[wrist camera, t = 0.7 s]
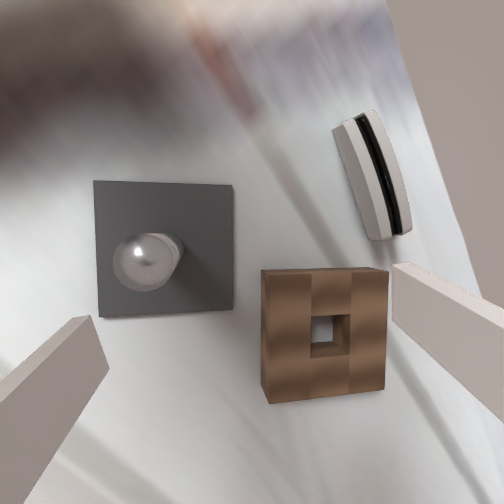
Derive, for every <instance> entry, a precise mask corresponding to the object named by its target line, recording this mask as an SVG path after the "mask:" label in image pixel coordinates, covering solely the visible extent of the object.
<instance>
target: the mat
mask: <svg viewBox="0 0 504 504" xmlns="http://www.w3.org/2000/svg"><path fill="white" fill-rule="evenodd" d="M93 187H94V211H95V236H96V260H97V284H98V309H99V317H110V316H128V315H146V314H165V313H183V312H201V311H219V310H233V292H232V185H211V184H183V183H154V182H125V181H96V180H93ZM152 233H172V234H174V235H176V236H178V237H179V238H180V239H181V241H182V242H183V245H184V254H183V256H182V258H181V260H180V261H179V263H178V265H177V266H176V268H175V270H174V271H173V273H172V275H171V276H170V278H169V279H168V281H167V282H166V283H165V284H164V285H162V286H161V287H159V288H157V289H155V290H152V291H146V292H140V291H135V290H132V289H129V288H128V287H126V286H124V285H123V284H122V283H121V282H120V281H119V280H118V278H117V277H116V275H115V273H114V270H113V264H112V263H113V255H114V252H115V250H116V248H117V247H118V245H119V244H120V243H121V242H122V241H124V240H125V239H126V238H128V237H130V236H133V235H137V234H152Z"/></svg>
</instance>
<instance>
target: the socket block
mask: <svg viewBox="0 0 504 504" xmlns="http://www.w3.org/2000/svg"><path fill="white" fill-rule="evenodd" d="M388 283H389V272H388V271H384V270H379V269H374V268H369V267H358V268H320V269H283V270H261V386H262V388H263V391H264V393H265V396H266V398H267V400H268V403H269V404H275V403H283V402H291V401H299V400H307V399H314V398H322V397H330V396H338V395H346V394H354V393H362V392H370V391H378V390H384V386H385V360H386V334H387V309H388ZM326 315H333V341H329V342H317V343H311V316H326Z"/></svg>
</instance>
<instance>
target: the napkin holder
mask: <svg viewBox="0 0 504 504" xmlns="http://www.w3.org/2000/svg"><path fill="white" fill-rule="evenodd" d="M332 132H333V135H334V138H335V141H336V144H337V147H338V150H339V153H340V156H341V159H342V162H343V165H344V168H345V171H346V174H347V176H348V179H349V182H350V185H351V188H352V191H353V194H354V197H355V200H356V203H357V206H358V209H359V212H360V215H361V218H362V221H363V224H364V227H365V230H366V233H367V236H368V239H372V240H379V241H382V240H389V239H392V236H394V235H404V234H406V233H407V232H409V231H411V230H412V219H411V213H410V207H409V202H408V198H407V194H406V190H405V185H404V182H403V178H402V175H401V171H400V168H399V165H398V162H397V159H396V156H395V153H394V151H393V148H392V145H391V143H390V140H389V138H388V135H387V133H386V131H385V128H384V126H383V124H382V122H381V120H380V118H379V116H378V114H377V112H376V111H375V110H373V111H369V112H365V113H362V114H360V115H358V116H356V117H354V118H350V119H349V120H347V121H345V122H343V123H341V124H339V125H338V126H336V127H335V128H334V129H332Z"/></svg>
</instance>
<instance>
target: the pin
mask: <svg viewBox="0 0 504 504" xmlns="http://www.w3.org/2000/svg"><path fill="white" fill-rule="evenodd" d="M183 254H184V245H183V242H182V241H181V239H180V238H179V237H178V236H176V235H174V234H172V233H152V234H137V235H133V236H130V237H128V238H126V239H125V240H124V241H122V242H121V243H120V244H119V245H118V247H117V248H116V250H115V252H114V255H113V263H112V264H113V270H114V273H115V275H116V277H117V278H118V280H119V281H120V282H121V283H122V284H123V285H124V286H126V287H128V288H129V289H132V290H135V291H140V292H146V291H152V290H155V289H157V288H159V287H161V286H162V285H164V284H165V283H166V282H167V281H168V279H169V278H170V276H171V275H172V273H173V271H174V270H175V268H176V266H177V265H178V263H179V261H180V260H181V258H182V256H183Z"/></svg>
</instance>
